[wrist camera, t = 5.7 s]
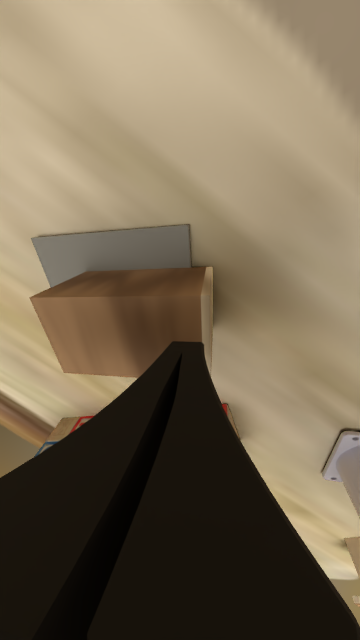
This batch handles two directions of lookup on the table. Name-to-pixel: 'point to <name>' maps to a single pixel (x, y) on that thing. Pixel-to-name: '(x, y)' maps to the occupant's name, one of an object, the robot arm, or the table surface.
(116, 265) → the slate mat
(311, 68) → the table surface
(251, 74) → the table surface
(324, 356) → the table surface
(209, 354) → the walnut block
